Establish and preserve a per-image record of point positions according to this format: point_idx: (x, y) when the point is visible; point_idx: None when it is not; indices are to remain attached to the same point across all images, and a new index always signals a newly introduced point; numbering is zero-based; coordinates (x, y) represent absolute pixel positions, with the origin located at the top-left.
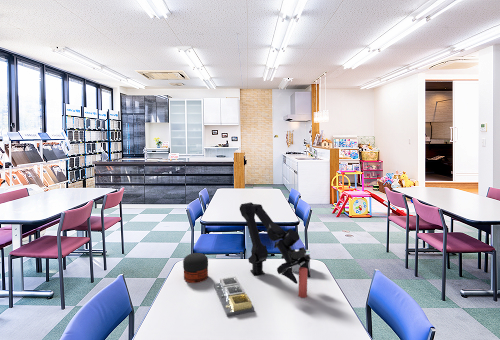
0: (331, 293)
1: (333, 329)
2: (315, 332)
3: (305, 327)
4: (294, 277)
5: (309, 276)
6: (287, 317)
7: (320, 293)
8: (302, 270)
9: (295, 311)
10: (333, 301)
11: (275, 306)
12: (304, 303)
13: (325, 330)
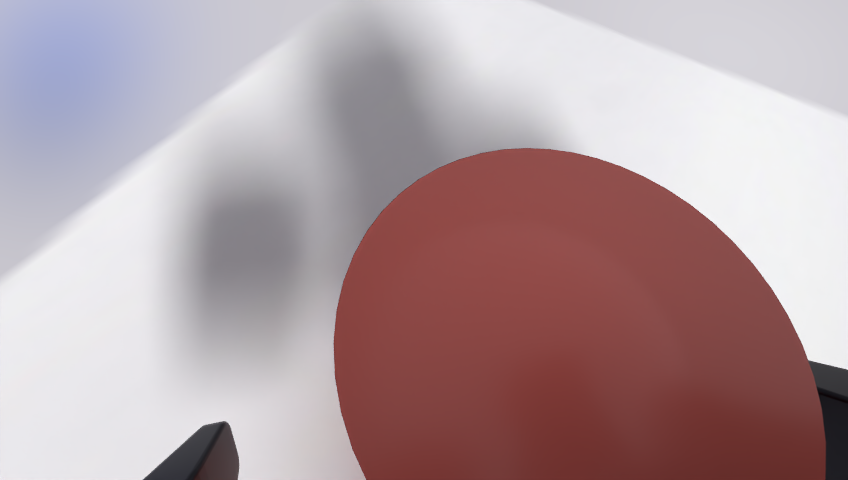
0: (100, 300)
1: (502, 21)
2: (609, 45)
3: (646, 88)
4: (814, 369)
5: (224, 443)
6: (734, 204)
7: (201, 365)
8: (671, 227)
9: None
10: (241, 188)
11: None
12: None
13: (548, 33)
